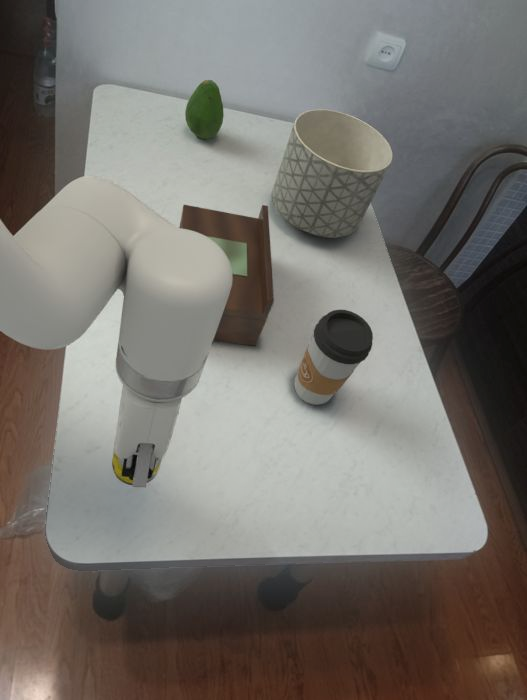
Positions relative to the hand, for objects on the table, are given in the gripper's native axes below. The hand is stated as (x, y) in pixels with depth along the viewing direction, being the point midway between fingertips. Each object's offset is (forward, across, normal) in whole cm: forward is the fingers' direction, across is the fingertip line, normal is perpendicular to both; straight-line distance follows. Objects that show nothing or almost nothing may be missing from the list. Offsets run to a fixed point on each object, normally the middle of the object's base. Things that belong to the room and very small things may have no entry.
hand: (139, 447), depth 60 cm
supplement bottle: (+5, 0, 0) cm, 5 cm away
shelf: (+10, -36, +10) cm, 38 cm away
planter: (+10, -61, +30) cm, 68 cm away
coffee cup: (+10, -18, +26) cm, 33 cm away
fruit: (+11, -82, +6) cm, 83 cm away
